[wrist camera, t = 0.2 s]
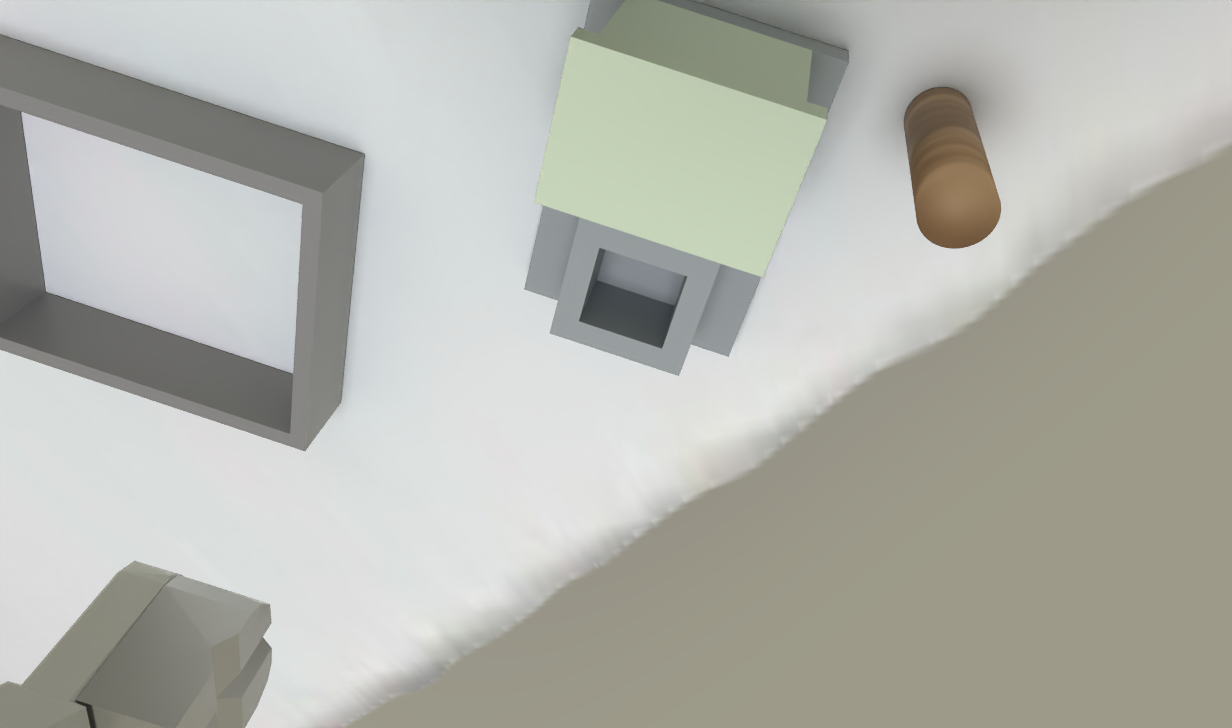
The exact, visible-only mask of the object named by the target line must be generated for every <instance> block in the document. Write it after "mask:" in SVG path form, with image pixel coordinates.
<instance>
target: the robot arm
mask: <svg viewBox="0 0 1232 728" xmlns="http://www.w3.org/2000/svg"><path fill="white" fill-rule="evenodd" d="M270 624H271V611H270V604H268V603H265V602H262V601H259V600H256V599H253V598H249V597H246V596H243V595H240V594H237V593H234V592H231V591H227V590H224V589H221V588H218V587H215V586H212V585H209V584H205V583H202V582H199V581H196V580H193V579H190V578H187V577H184V576H182V575H180V574H177V573H173V572H170V571H167V570H163V569H160V568H157V567H154V566H150V565H147V564H144V563H140V562H137V561H134V562H132V563H131V564H129V565H128V566H126V567H125V568H123V569H122V570H120V571H119V572H118V573H117V574H116V575H115V576H114V577H113V578H112V580H111V581H110V582H109V583H108V584H107V585H106V587H105V588H104V589H103V590H102V591H101V592H100V594H99V595H98V596H97V597H96V598H95V600H94V601H93V602H92V603H91V604H90V605H89V607H88V608H87V609H86V610H85V611H84V612H83V614H82V615H81V616H80V617H79V618H78V619H77V621H76V622H75V623H74V624H73V625H72V627H71V628H70V629H69V630H68V631H67V632H66V634H65V635H64V636H63V637H62V638H61V639H60V641H59V642H58V643H57V644H56V645H55V646H54V648H53V649H52V650H51V651H50V652H49V654H48V655H47V656H46V657H45V658H44V659H43V661H42V662H41V663H40V664H39V665H38V666H37V668H36V669H35V670H34V671H33V672H32V673H31V675H30V676H29V677H28V678H27V679H26V680H25V682H24V683H23V684H22V685H20V684H16V683H13V682H9V681H7V682H5V683H3V684H1V685H0V728H245V727H246V725H247V723H248V721H249V720H250V718H251V716H252V714H253V713H254V711H255V709H256V707H257V705H258V703H259V700H260V698H261V695H262V693H263V691H264V688H265V686H266V683H267V681H268V676H269V671H270V667H271V660H272V648H271V647H270V646H269V644H268V643H267V642H266V641H265V639H264V638H263V636H264V634H265V632H266V631H267V629H268V628H269V626H270Z"/></svg>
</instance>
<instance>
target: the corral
mask: <svg viewBox="0 0 1232 728" xmlns="http://www.w3.org/2000/svg"><path fill="white" fill-rule="evenodd" d="M20 111H21V112H24V113H27V114H30V115H33V116H36V117H39V118H42V119H46V120H49V121H52V122H55V123H58V124H61V125H64V126H67V127H70V128H73V129H76V130H79V131H82V132H85V133H88V134H91V135H94V136H97V137H100V138H103V139H106V140H109V141H112V142H115V143H118V144H121V145H124V146H127V147H130V148H134V149H137V150H140V151H143V152H146V153H149V154H152V155H155V156H158V157H161V158H164V159H167V160H170V161H173V162H176V163H179V164H182V165H185V166H188V167H191V168H194V169H197V170H200V171H203V172H206V173H209V174H212V175H215V176H218V177H222V178H225V179H228V180H231V181H234V182H237V183H240V184H243V185H246V186H249V187H252V188H255V189H258V190H261V191H264V192H267V193H270V194H273V195H276V196H279V197H282V198H285V199H288V200H291V201H294V202H297V203H300V204H303V209H302V227H301V245H300V264H299V282H298V300H297V318H296V336H295V354H294V373H293V374H290V373H287V372H284V371H281V370H278V369H275V368H272V367H269V366H266V365H263V364H260V363H257V362H254V361H251V360H248V359H245V358H242V357H239V356H236V355H233V354H230V353H227V352H224V351H221V350H218V349H215V348H212V347H209V346H206V345H203V344H200V343H197V342H194V341H191V340H188V339H185V338H182V337H179V336H176V335H173V334H170V333H167V332H164V331H161V330H158V329H155V328H152V327H149V326H146V325H143V324H140V323H137V322H134V321H131V320H128V319H125V318H122V317H119V316H116V315H113V314H110V313H107V312H104V311H101V310H98V309H95V308H92V307H89V306H86V305H83V304H80V303H77V302H74V301H71V300H68V299H65V298H62V297H59V296H56V295H53V294H50V293H47V292H46V291H45V283H44V276H43V269H42V262H41V255H40V248H39V241H38V233H37V226H36V219H35V212H34V205H33V198H32V190H31V183H30V176H29V169H28V162H27V155H26V148H25V140H24V133H23V126H22V119H21V112H20ZM364 157H365V154H362V153H359V152H356V151H353V150H350V149H347V148H344V147H341V146H338V145H335V144H332V143H329V142H326V141H323V140H320V139H317V138H314V137H311V136H308V135H305V134H301V133H298V132H295V131H292V130H289V129H286V128H283V127H280V126H277V125H274V124H271V123H268V122H265V121H262V120H259V119H256V118H253V117H250V116H247V115H244V114H241V113H238V112H234V111H231V110H228V109H225V108H222V107H219V106H216V105H213V104H210V103H207V102H204V101H201V100H198V99H195V98H192V97H189V96H186V95H183V94H180V93H177V92H174V91H171V90H167V89H164V88H161V87H158V86H155V85H152V84H149V83H146V82H143V81H140V80H137V79H134V78H131V77H128V76H125V75H122V74H119V73H116V72H113V71H110V70H107V69H104V68H100V67H97V66H94V65H91V64H88V63H85V62H82V61H79V60H76V59H73V58H70V57H67V56H64V55H61V54H58V53H55V52H52V51H49V50H46V49H43V48H40V47H37V46H33V45H30V44H27V43H24V42H21V41H18V40H15V39H12V38H9V37H6V36H3V35H0V350H3V351H6V352H9V353H12V354H15V355H18V356H21V357H24V358H27V359H30V360H33V361H36V362H39V363H42V364H45V365H48V366H51V367H54V368H57V369H60V370H63V371H66V372H69V373H72V374H75V375H78V376H81V377H84V378H87V379H90V380H93V381H96V382H99V383H102V384H105V385H108V386H111V387H114V388H117V389H120V390H123V391H126V392H129V393H132V394H135V395H138V396H141V397H144V398H147V399H150V400H153V401H156V402H159V403H162V404H165V405H168V406H171V407H174V408H177V409H180V410H183V411H186V412H189V413H192V414H195V415H198V416H201V417H204V418H207V419H210V420H213V421H216V422H219V423H222V424H225V425H228V426H231V427H234V428H237V429H240V430H243V431H246V432H249V433H252V434H255V435H258V436H261V437H264V438H267V439H270V440H273V441H276V442H279V443H282V444H285V445H288V446H291V447H294V448H297V449H300V450H303V451H306V449H307V448H308V447H309V445H310V444H311V442H312V441H313V440H314V438H315V437H316V436H317V434H318V433H319V431H320V430H321V429H322V427H323V426H324V425H325V423H326V422H327V421H328V419H329V418H330V416H331V415H332V414H333V412H334V411H335V410H336V408H337V407H338V405H339V404H340V403H341V395H342V385H343V375H344V364H345V354H346V344H347V333H348V323H349V312H350V302H351V292H352V281H353V271H354V261H355V250H356V240H357V229H358V219H359V209H360V198H361V188H362V178H363V167H364Z"/></svg>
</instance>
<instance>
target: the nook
mask: <svg viewBox="0 0 1232 728" xmlns="http://www.w3.org/2000/svg"><path fill="white" fill-rule="evenodd" d="M848 62H849V51H847V50H844V49H841V48H838V47H834V46H831V45H828V44H825V43H822V42H819V41H816V40H813V39H810V38H807V37H804V36H801V35H797V34H794V33H791V32H788V31H785V30H782V29H779V28H776V27H773V26H770V25H767V24H764V23H760V22H757V21H754V20H751V19H748V18H745V17H742V16H739V15H736V14H733V13H730V12H726V11H723V10H720V9H717V8H714V7H711V6H708V5H705V4H702V3H699V2H696V1H693V0H590V5H589V9H588V14H587V18H586V22H585V27H584V29H582V28H579V27H578V28H577V29H576V31H575V32H574V33H573V34H572V35H571V37H570V41H569V46H568V50H567V55H566V60H565V64H564V69H563V73H562V78H561V82H560V87H559V91H558V96H557V100H556V105H555V109H554V114H553V118H552V123H551V127H550V132H549V136H548V141H547V145H546V150H545V154H544V159H543V163H542V168H541V172H540V177H539V181H538V186H537V190H536V195H535V199H534V203H538V204H541V205H543V210H542V214H541V218H540V223H539V227H538V232H537V236H536V240H535V245H534V249H533V253H532V258H531V262H530V266H529V271H528V275H527V279H526V284H525V288H524V289H525V290H528V291H531V292H534V293H537V294H540V295H543V296H546V297H549V298H552V299H555V300H558V303H557V307H556V311H555V315H554V319H553V323H552V327H551V330H550V334H553V335H556V336H560V337H563V338H566V339H569V340H572V341H575V342H578V343H581V344H584V345H587V346H590V347H593V348H596V349H599V350H602V351H605V352H608V353H611V354H614V355H617V356H620V357H623V358H626V359H629V360H632V361H635V362H638V363H641V364H644V365H647V366H650V367H653V368H656V369H659V370H662V371H665V372H669V373H672V374H675V375H678V376H679V374H680V372H681V369H682V366H683V364H684V361H685V358H686V356H687V353H688V350H689V348H690V345H691V344H692V345H695V346H698V347H701V348H704V349H707V350H710V351H713V352H716V353H719V354H722V355H725V356H728V357H729V354H730V352H731V349H732V347H733V344H734V342H735V339H736V337H737V335H738V332H739V330H740V327H741V325H742V322H743V320H744V317H745V315H746V312H747V310H748V308H749V305H750V303H751V300H752V298H753V295H754V293H755V290H756V288H757V286H758V283H759V281H760V278H761V277H763V276H764V273H765V271H766V268H767V266H768V264H769V261H770V259H771V256H772V254H773V251H774V249H775V246H776V244H777V242H778V239H779V237H780V234H781V232H782V229H783V227H784V224H785V222H786V220H787V217H788V215H789V212H790V210H791V207H792V205H793V202H794V200H795V198H796V195H797V193H798V190H799V188H800V185H801V183H802V180H803V178H804V176H805V173H806V171H807V168H808V166H809V163H810V161H811V159H812V156H813V154H814V151H815V149H816V146H817V144H818V141H819V139H820V137H821V134H822V132H823V129H824V127H825V124H826V122H827V115H828V111H829V109H830V107H831V104H832V102H833V99H834V97H835V94H836V92H837V89H838V87H839V85H840V82H841V80H842V77H843V75H844V72H845V70H846V67H847V65H848Z"/></svg>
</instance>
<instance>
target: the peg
mask: <svg viewBox="0 0 1232 728" xmlns="http://www.w3.org/2000/svg"><path fill="white" fill-rule="evenodd" d="M904 129H905V136H906V144H907V151H908V159H909V166H910V174H911V181H912V188H913V196H914V203H915V211H916V218H917V224H918V226H919V229H920V231H921V232H922V234H923V235H924V236H925V237H926V238H927V239H928V240H929V241H931V242H932V243H934V244H936V245H938V246H941V247H945V248H964V247H968V246H971V245H974V244H976V243H978V242H980V241H981V240H983V239H984V238H986V237H987V236H988V235H989V234H990V233H991V232H992V231H993V230H994V228H995V226H996V225H997V223H998V221H999V218H1000V213H1001V203H1000V199H999V196H998V192H997V189H996V186H995V183H994V179H993V176H992V173H991V170H990V166H989V163H988V160H987V157H986V153H985V150H984V147H983V144H982V141H981V137H980V134H979V131H978V128H977V124H976V121H975V118H974V115H973V111H972V108H971V105H970V103H969V101H968V100H967V98H966V97H965V96H964V95H963V94H962V93H960V92H959V91H957V90H955V89H952V88H947V87H937V88H932V89H929V90H926V91H924V92H922V93H921V94H919V95H918V96H917V97H916V98H914V99H913V101H912V102H911V103H910V104H909V106H908V108H907V110H906V113H905V116H904Z"/></svg>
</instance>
